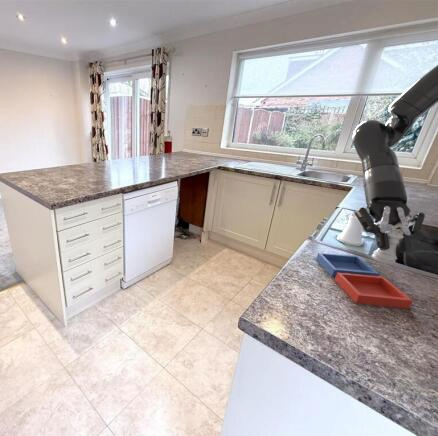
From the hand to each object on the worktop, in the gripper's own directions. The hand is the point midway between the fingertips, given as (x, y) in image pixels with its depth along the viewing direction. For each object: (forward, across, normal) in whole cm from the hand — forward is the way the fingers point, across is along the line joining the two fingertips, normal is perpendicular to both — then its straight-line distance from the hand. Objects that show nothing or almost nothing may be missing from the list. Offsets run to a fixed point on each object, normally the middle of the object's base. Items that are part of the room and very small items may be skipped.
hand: (394, 250), depth 57 cm
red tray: (+9, 0, +11) cm, 14 cm away
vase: (-15, +9, +34) cm, 39 cm away
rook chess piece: (+2, 0, +4) cm, 5 cm away
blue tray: (+1, -1, +19) cm, 19 cm away
